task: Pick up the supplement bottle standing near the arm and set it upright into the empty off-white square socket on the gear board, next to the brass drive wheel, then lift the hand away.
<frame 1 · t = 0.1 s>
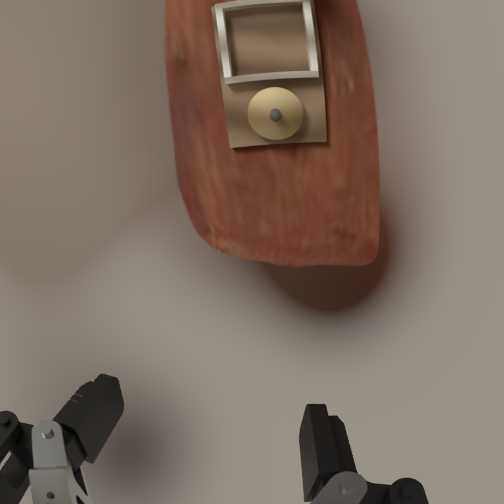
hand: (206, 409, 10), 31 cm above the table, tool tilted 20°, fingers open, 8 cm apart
gear board: (271, 69, 29), on the table
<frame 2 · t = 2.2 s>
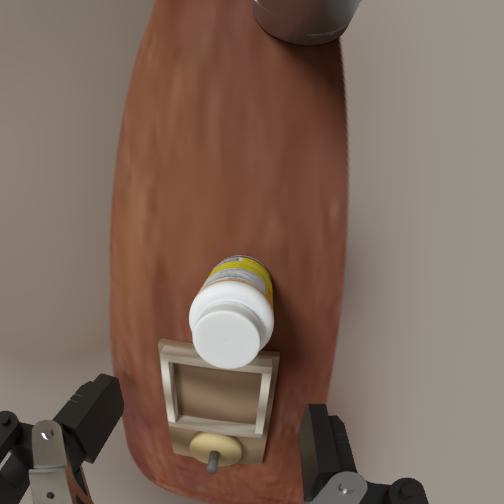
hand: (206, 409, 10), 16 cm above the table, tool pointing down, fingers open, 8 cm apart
gear board: (217, 411, 29), on the table
supplement bottle: (241, 282, 26), on the table
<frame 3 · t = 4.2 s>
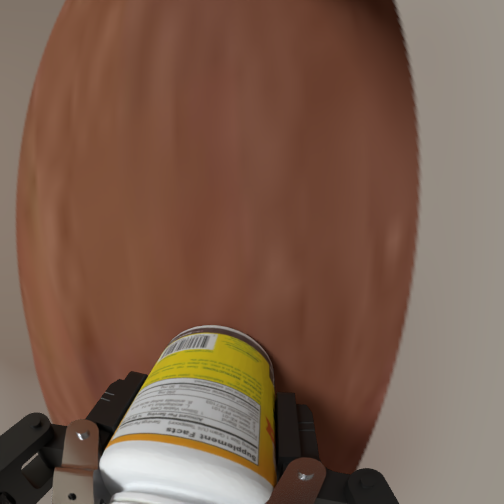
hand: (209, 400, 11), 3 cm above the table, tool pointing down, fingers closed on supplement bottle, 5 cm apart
supplement bottle: (219, 366, 14), on the table, touching gripper
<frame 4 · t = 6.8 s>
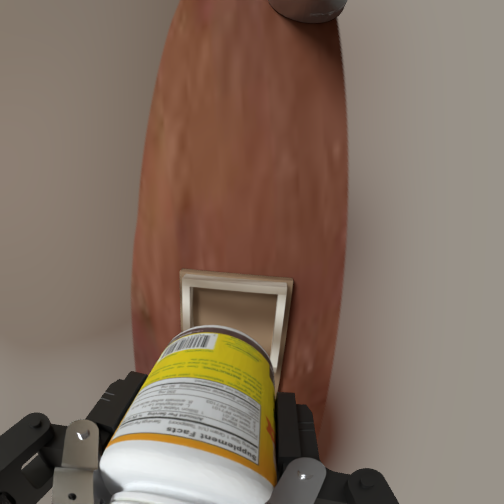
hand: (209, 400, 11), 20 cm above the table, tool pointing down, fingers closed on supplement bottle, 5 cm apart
gear board: (232, 348, 33), on the table
supplement bottle: (219, 365, 14), point 18 cm above the table, touching gripper
when the fingers open (5 cm above the table, at t = 9.6 s): supplement bottle drops 2 cm, resting on gear board.
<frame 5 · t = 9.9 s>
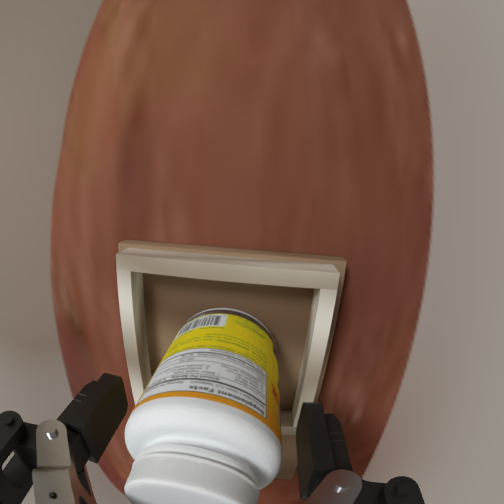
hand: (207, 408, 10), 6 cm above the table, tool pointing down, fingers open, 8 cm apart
gear board: (223, 390, 17), on the table
supplement bottle: (227, 346, 16), point 1 cm above the table, touching gear board
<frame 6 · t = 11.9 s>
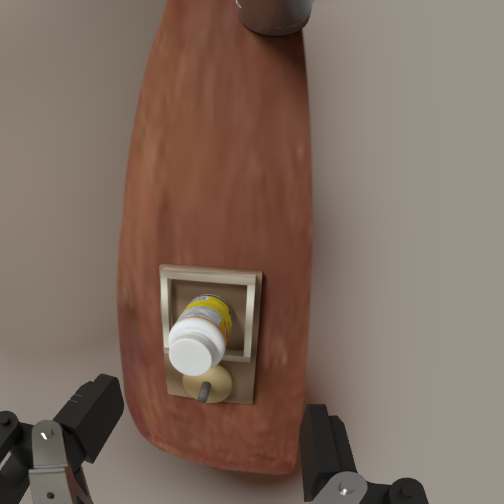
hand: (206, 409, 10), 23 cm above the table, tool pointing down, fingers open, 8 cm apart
gear board: (209, 339, 35), on the table
supplement bottle: (210, 313, 34), point 1 cm above the table, touching gear board
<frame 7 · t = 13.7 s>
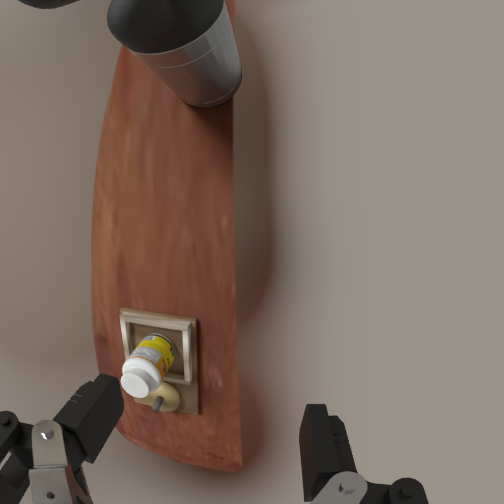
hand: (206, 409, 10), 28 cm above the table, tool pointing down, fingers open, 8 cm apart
gear board: (162, 364, 43), on the table
supplement bottle: (160, 346, 41), point 1 cm above the table, touching gear board
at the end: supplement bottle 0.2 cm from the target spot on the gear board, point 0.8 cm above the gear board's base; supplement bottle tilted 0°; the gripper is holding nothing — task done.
